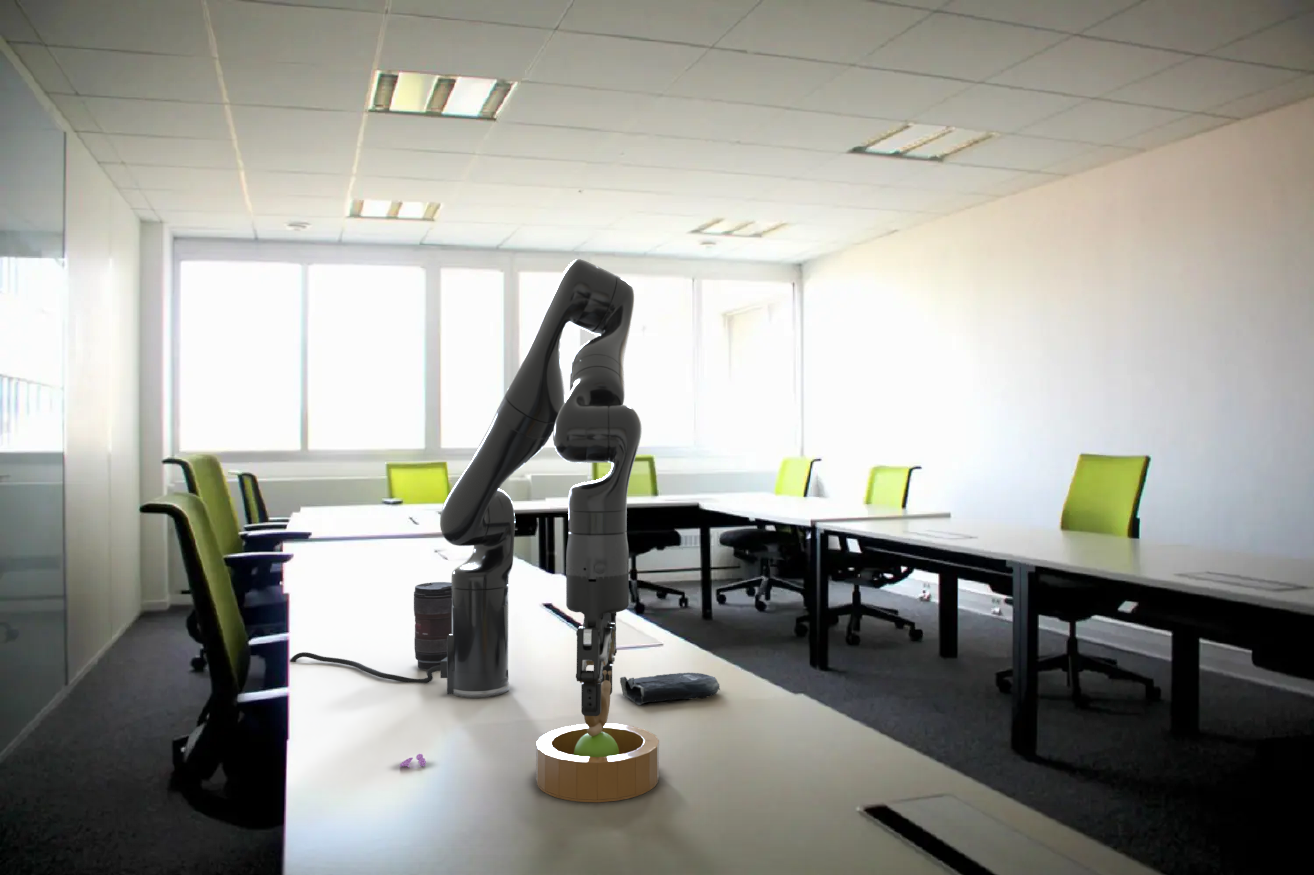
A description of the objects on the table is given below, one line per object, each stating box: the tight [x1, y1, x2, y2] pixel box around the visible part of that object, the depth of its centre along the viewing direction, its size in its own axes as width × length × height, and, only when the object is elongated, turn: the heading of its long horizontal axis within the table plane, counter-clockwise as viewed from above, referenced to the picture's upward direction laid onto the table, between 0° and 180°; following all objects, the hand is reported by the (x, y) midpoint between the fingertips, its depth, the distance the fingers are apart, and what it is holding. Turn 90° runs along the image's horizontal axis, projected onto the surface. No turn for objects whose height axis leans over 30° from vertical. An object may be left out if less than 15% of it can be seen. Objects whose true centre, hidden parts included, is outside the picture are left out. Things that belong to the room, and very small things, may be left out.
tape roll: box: [535, 723, 660, 803], centre depth 109 cm, size 15×15×4 cm
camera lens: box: [413, 581, 452, 671], centre depth 167 cm, size 8×8×15 cm
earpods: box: [398, 753, 427, 769], centre depth 114 cm, size 3×2×2 cm
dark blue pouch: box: [619, 672, 721, 706], centre depth 147 cm, size 9×6×15 cm
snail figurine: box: [574, 670, 619, 757], centre depth 109 cm, size 5×6×12 cm
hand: (597, 704), depth 109 cm, fingers open, 8 cm apart
